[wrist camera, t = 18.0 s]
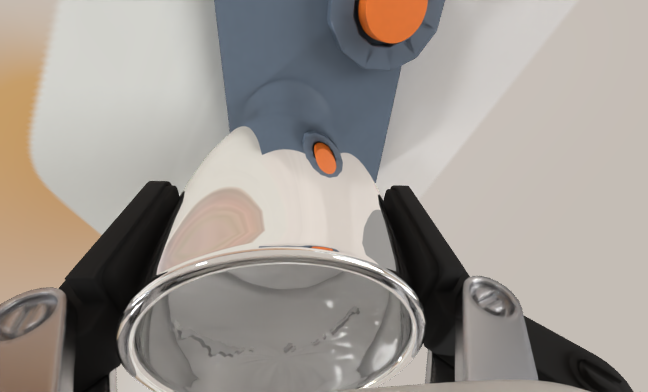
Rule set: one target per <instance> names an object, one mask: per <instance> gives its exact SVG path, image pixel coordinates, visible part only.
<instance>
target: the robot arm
mask: <svg viewBox="0 0 648 392" xmlns="http://www.w3.org/2000/svg"><path fill="white" fill-rule="evenodd" d="M178 199H179V193H178V190H177V187H176V186H172V185H171V183H170V182H168V181H149V182H148V183H147V184H146V185H145V186H144V187H143V188H142V190H141V191H140V192H139V193H138V194H137V195H136V196H135V198H134V199H133V200H132V201H131V202H130V203H129V205H128V206H127V207H126V208H125V209H124V210H123V212H122V213H121V214H120V215H119V216H118V217H117V218H116V220H115V221H114V222H113V223H112V224H111V225H110V227H109V228H108V229H107V230H106V231H105V232H104V234H103V235H102V236H101V237H100V238H99V239H98V241H97V242H96V243H95V244H94V245H93V246H92V247H91V249H90V250H89V251H88V252H87V253H86V254H85V256H84V257H83V258H82V259H81V260H80V261H79V262H78V264H77V265H76V266H75V267H74V268H73V270H72V271H71V272H70V273H69V274H68V275H67V276H66V278H65V282H64V283H63V284H62V285H61V286H60V287H59V289H57V288H39V289H35V290H30V291H27V292H25V293H22V294H19V295H17V296H15V297H13V298H11V299H9V300H7V301H6V302H4V303H2V304H0V392H117V377H116V368H117V367H118V366H119V365H120V364H121V362H120V360H119V358H118V356H117V353H116V349H115V343H114V334H115V328H116V325H117V322H118V319H119V317H120V315H121V313H122V311H123V310H124V308H125V307H126V305H127V304H128V303H129V301H130V299H131V297H132V295H133V293H134V291H135V289H136V287H137V285H138V283H139V281H140V278H141V276H142V274H143V272H144V270H145V267H146V265H147V263H148V261H149V258H150V256H151V254H152V251H153V249H154V247H155V245H156V243H157V240H158V238H159V236H160V234H161V232H162V230H163V228H164V226H165V224H166V221H167V219H168V217H169V215H170V213H171V211H172V209H173V208H174V206H175V204H176V202H177V201H178ZM383 202H384V204H385V206H386V209H387V211H388V213H389V216H390V218H391V221H392V224H393V226H394V229H395V232H396V235H397V238H398V240H399V243H400V246H401V249H402V252H403V255H404V258H405V261H406V264H407V267H408V270H409V273H410V276H411V279H412V282H413V284H414V287H415V290H416V292H417V295H418V297H419V298H420V300H421V302H422V304H423V306H424V309H425V313H426V318H427V331H426V336H425V339H424V342H423V343H424V346H425V347H426V348H427V349H428V356H427V367H426V377H425V378H426V379H425V384H418V385H406V386H391V387H378V388H365V389H351V390H338V391H325V392H633V391H632V389H631V387H630V386H629V385H628V383H627V381H626V380H625V379H624V378H623V377H622V376H621V375H620V374H619V373H618V372H617V371H616V370H615V369H614V368H613V367H611V366H610V365H609V364H608V363H607V362H605V361H604V360H602V359H601V358H599V357H598V356H596V355H594V354H593V353H590V352H589V351H587V350H585V349H584V348H582V347H580V346H578V345H576V344H574V343H573V342H571V341H569V340H567V339H565V338H564V337H562V336H560V335H558V334H556V333H554V332H553V331H551V330H549V329H547V328H545V327H544V326H542V325H540V324H538V323H536V322H534V321H533V320H531V319H529V318H527V317H525V316H524V315H523V311H522V307H521V305H520V303H519V300H518V299H517V298H516V297H515V295H514V294H513V293H512V292H511V291H510V290H509V289H508V288H506V287H505V286H504V285H502V284H500V283H499V282H497V281H495V280H493V279H490V278H487V277H483V276H472V277H470V276H469V275H468V273H467V272H466V270H465V269H464V267H463V266H462V264H461V263H460V261H459V260H458V258H457V257H456V255H455V254H454V252H453V251H452V249H451V248H450V246H449V245H448V244H447V242H446V241H445V239H444V238H443V236H442V234H441V233H440V232H439V230H438V229H437V227H436V226H435V224H434V223H433V221H432V220H431V218H430V217H429V215H428V214H427V212H426V211H425V209H424V208H423V206H422V205H421V204H420V202H419V201H418V199H417V198H416V196H415V195H414V193H413V192H412V190H411V189H410V187H409V186H392V187H391V189H388V190H387V191H386V193H385V197H384V201H383Z"/></svg>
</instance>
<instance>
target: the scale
mask: <svg viewBox="0 0 648 392" xmlns="http://www.w3.org/2000/svg"><path fill="white" fill-rule="evenodd" d="M214 2H215V11H216V19H217V27H218V36H219V44H220V53H221V61H222V69H223V78H224V86H225V95H226V103H227V111H228V120H229V128H230V133H231V132H232V131H233V130H235V129H236V128H237V127H239V126H240V125H241V124H243V114H244V110H245V107H246V105H247V102H248V101H249V99H250V97H251V96H252V95H253V94H254V93H255V92H256V91H257V90H258V89H259V88H260V87H262V86H263V85H265V84H267V83H269V82H272V81H276V80H281V79H292V80H298V81H301V82H304V83H306V84H308V85H310V86H312V87H314V88H315V89H316V90H317V91H319V92H320V93H321V94H322V95H323V97H324V98H325V99H326V101H327V102H328V104H329V106H330V108H331V111H332V115H333V121H334V130H335V131H336V132H337V133H338V134H339V135H340V136H341V137H342V138H343V139H344V140H345V141H346V142H347V143H348V144H349V145H350V147H351V148H352V149H353V150H354V152H355V153H356V154H357V155H358V156H359V158H360V159H361V160H362V162H363V163H364V165H365V167H366V168H367V170H368V172H369V174H370V175H371V177H372V179H373V181H374V183H376V179H377V175H378V170H379V166H380V161H381V156H382V152H383V147H384V143H385V138H386V134H387V129H388V124H389V120H390V115H391V111H392V106H393V102H394V97H395V92H396V88H397V83H398V79H399V74H400V70H401V65H403V64H405V63H407V62H409V61H411V60H413V59H415V58H416V57H417V56H418V55H419V54H420V52H421V51H422V50H423V48H424V47H425V46H426V44H427V43H428V42H429V41H430V39H431V38H432V37H433V35H434V34H435V33H436V30H437V28H438V24H439V21H440V17H441V13H442V10H443V6H444V2H445V0H428V4H427V10H426V13H425V16H424V19H423V21H422V23H421V25H420V26H419V28H418V29H417V30H416V32H415V33H414V34H413V35H412V36H410V37H409V38H408V39H406V40H404V41H402V42H399V43H385V42H381V41H378V40H375V39H373V38H371V37H370V36H368V35H367V34H366V33H365V31H364V30H363V28H362V26H361V24H360V21H359V16H358V5H359V0H214Z"/></svg>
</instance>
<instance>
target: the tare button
mask: <svg viewBox="0 0 648 392" xmlns="http://www.w3.org/2000/svg"><path fill="white" fill-rule="evenodd" d="M427 4H428V0H359V5H358V16H359V21H360V24H361V26H362V28H363V30H364V31H365V33H366V34H367V35H368V36H370V37H371V38H373V39H375V40H378V41H381V42H385V43H399V42H402V41H404V40H406V39H408V38H409V37H410V36H412V35H413V34H414V33H415V32H416V30H417V29H418V28H419V26H420V25H421V23H422V21H423V19H424V16H425V13H426V10H427Z"/></svg>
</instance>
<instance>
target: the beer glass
mask: <svg viewBox="0 0 648 392" xmlns="http://www.w3.org/2000/svg"><path fill="white" fill-rule="evenodd" d="M426 331H427V318H426V313H425V309H424V306H423V304H422V302H421V300H420V298H419V297H418V295H417V292H416V290H415V287H414V284H413V282H412V279H411V276H410V273H409V270H408V267H407V264H406V261H405V258H404V255H403V252H402V249H401V246H400V243H399V240H398V238H397V235H396V232H395V229H394V226H393V224H392V221H391V218H390V216H389V213H388V211H387V209H386V206H385V204H384V202H383V199H382V197H381V195H380V192H379V190H378V188H377V186H376V184H375V183H374V181H373V179H372V177H371V175H370V174H369V172H368V170H367V168H366V167H365V165H364V163H363V162H362V160H361V159H360V158H359V156H358V155H357V154H356V153H355V152H354V150H353V149H352V148H351V147H350V145H349V144H348V143H347V142H346V141H345V140H344V139H343V138H342V137H341V136H340V135H339V134H338V133H337V132H336V131H335V130H334V121H333V115H332V111H331V108H330V106H329V104H328V102H327V101H326V99H325V98H324V97H323V95H322V94H321V93H320V92H319V91H317V90H316V89H315V88H314V87H312V86H310V85H308V84H306V83H304V82H301V81H298V80H292V79H281V80H276V81H272V82H269V83H267V84H265V85H263V86H262V87H260V88H259V89H258V90H257V91H256V92H255V93H254V94H253V95H252V96H251V97H250V99H249V101H248V102H247V105H246V107H245V110H244V114H243V124H241V125H240V126H239V127H237V128H236V129H235V130H233V131H232V132H231V133H229V134H228V135H227V136H226V137H225V138H224V139H223V140H222V141H221V142H220V143H219V144H218V145H217V146H216V147H214V148H213V149H212V150H211V151H210V153H209V154H208V155H207V156H206V157H205V159H204V160H203V162H202V163H201V164H200V166H199V167H198V169H197V170H196V171H195V173H194V174H193V175H192V177H191V178H190V180H189V181H188V183H187V184H186V186H185V188H184V190H183V192H182V193H181V195H180V197H179V199H178V201H177V202H176V204H175V206H174V208H173V209H172V211H171V213H170V215H169V217H168V219H167V221H166V224H165V226H164V228H163V230H162V232H161V234H160V236H159V238H158V240H157V243H156V245H155V247H154V249H153V251H152V254H151V256H150V258H149V261H148V263H147V265H146V267H145V270H144V272H143V274H142V276H141V278H140V281H139V283H138V285H137V287H136V289H135V291H134V293H133V295H132V297H131V299H130V301H129V303H128V304H127V305H126V307H125V308H124V310H123V311H122V313H121V315H120V317H119V319H118V322H117V325H116V328H115V334H114V343H115V349H116V353H117V356H118V358H119V360H120V362H121V364H122V365H123V367H124V368H125V369H126V371H127V372H128V373H129V374H130V375H131V376H132V377H133V378H134V379H135V380H136V381H138V382H139V383H140V384H142V385H143V386H145V387H146V388H148V389H149V390H151V391H153V392H325V391H338V390H351V389H365V388H376V387H378V386H380V385H382V384H384V383H385V382H387V381H388V380H390V379H391V378H393V377H394V376H396V375H397V374H398V373H399V372H401V371H402V370H403V369H404V368H405V367H406V366H407V365H408V364H409V363H410V362H411V361H412V360H413V359H414V358H415V356H416V355H417V353H418V352H419V350H420V348H421V347H422V344H423V342H424V339H425V336H426Z"/></svg>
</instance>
